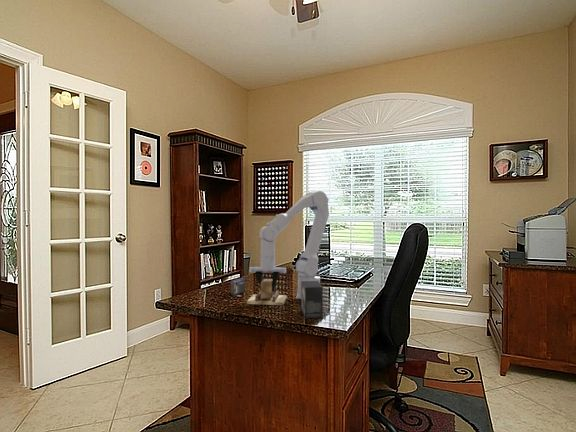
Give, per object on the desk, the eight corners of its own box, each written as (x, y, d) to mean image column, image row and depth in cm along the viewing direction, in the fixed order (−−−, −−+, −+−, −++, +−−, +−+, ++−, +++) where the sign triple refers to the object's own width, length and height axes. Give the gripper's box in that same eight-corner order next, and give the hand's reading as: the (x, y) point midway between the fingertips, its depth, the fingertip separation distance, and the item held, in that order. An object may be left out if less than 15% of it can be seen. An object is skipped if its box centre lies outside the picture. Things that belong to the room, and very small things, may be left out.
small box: (300, 309, 124) (300, 280, 124) (318, 309, 124) (318, 280, 124) (304, 318, 113) (304, 286, 113) (323, 318, 114) (323, 286, 114)
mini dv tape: (233, 295, 146) (233, 281, 146) (230, 294, 147) (230, 280, 147) (244, 291, 154) (245, 278, 154) (242, 291, 154) (242, 277, 154)
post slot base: (286, 297, 142) (286, 290, 142) (283, 305, 130) (283, 297, 130) (253, 296, 143) (253, 290, 143) (246, 303, 131) (246, 296, 132)
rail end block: (274, 293, 140) (274, 279, 140) (270, 298, 132) (271, 282, 132) (264, 293, 141) (264, 278, 141) (260, 298, 133) (260, 282, 133)
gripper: (247, 257, 134) (247, 292, 134) (284, 258, 132) (284, 293, 132) (251, 255, 141) (251, 288, 141) (286, 256, 139) (286, 289, 139)
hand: (267, 290), depth 137 cm, fingers closed on rail end block, 4 cm apart
